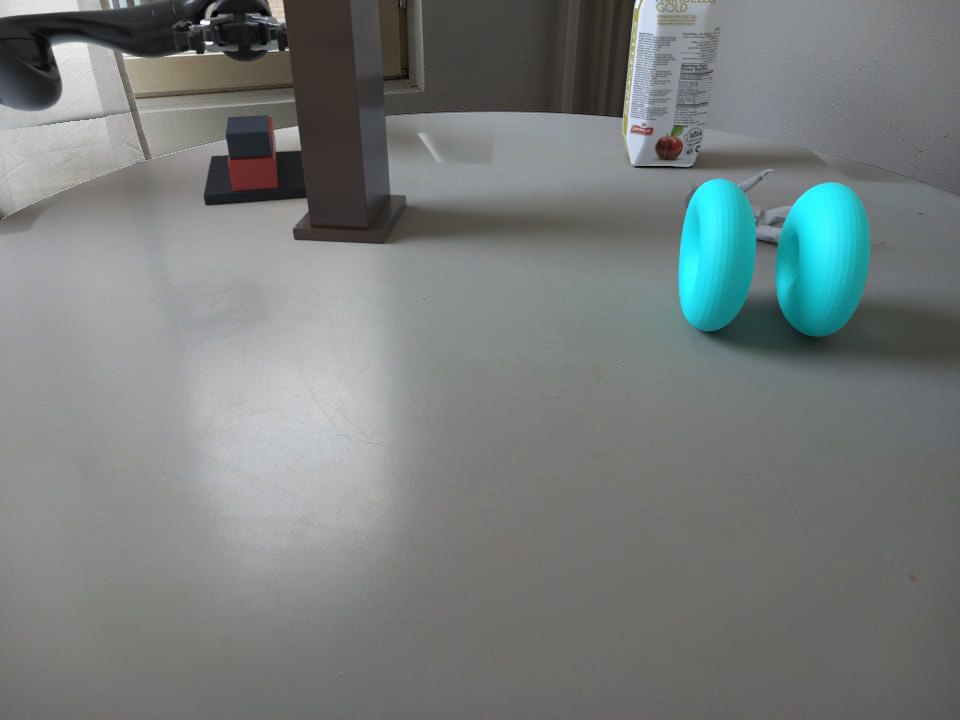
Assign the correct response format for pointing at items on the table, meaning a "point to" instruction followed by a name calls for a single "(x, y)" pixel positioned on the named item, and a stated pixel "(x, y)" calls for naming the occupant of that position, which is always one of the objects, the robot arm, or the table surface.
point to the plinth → (341, 120)
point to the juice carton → (669, 79)
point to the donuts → (799, 260)
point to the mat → (288, 182)
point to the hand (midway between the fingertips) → (240, 42)
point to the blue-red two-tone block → (252, 153)
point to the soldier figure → (758, 210)
